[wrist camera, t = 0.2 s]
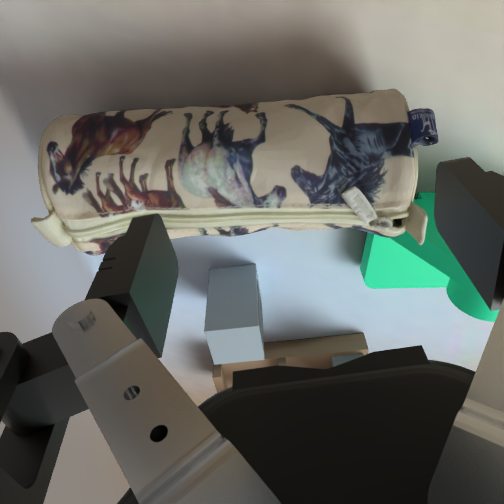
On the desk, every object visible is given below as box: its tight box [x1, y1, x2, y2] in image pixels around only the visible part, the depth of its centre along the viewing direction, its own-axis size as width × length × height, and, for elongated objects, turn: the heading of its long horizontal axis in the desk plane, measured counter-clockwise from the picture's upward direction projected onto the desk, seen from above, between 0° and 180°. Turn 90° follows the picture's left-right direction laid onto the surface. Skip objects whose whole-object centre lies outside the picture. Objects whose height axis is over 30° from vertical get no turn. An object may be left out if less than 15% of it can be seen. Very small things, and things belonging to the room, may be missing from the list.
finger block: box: [204, 264, 265, 365], centre depth 35 cm, size 4×4×7 cm
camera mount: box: [360, 193, 499, 322], centre depth 31 cm, size 12×8×10 cm, turn 90°
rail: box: [213, 333, 368, 393], centre depth 41 cm, size 5×15×9 cm, turn 97°
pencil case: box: [31, 89, 438, 256], centre depth 26 cm, size 22×8×10 cm, turn 94°
